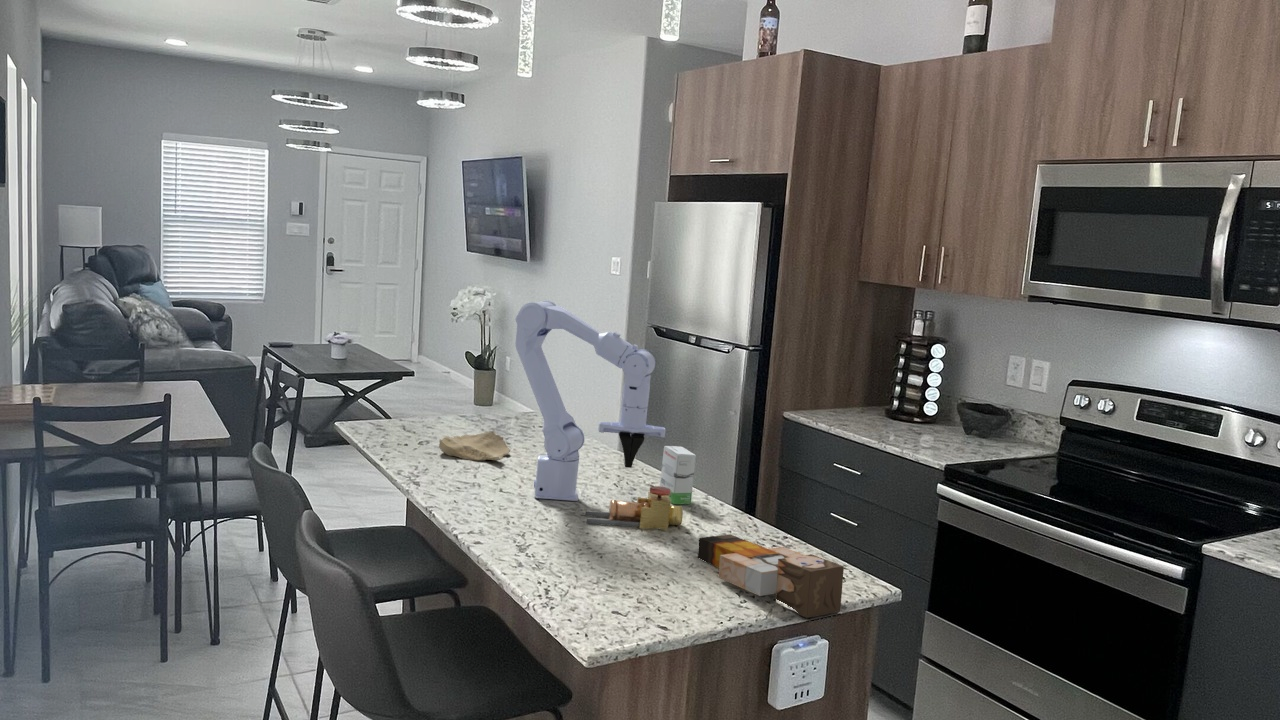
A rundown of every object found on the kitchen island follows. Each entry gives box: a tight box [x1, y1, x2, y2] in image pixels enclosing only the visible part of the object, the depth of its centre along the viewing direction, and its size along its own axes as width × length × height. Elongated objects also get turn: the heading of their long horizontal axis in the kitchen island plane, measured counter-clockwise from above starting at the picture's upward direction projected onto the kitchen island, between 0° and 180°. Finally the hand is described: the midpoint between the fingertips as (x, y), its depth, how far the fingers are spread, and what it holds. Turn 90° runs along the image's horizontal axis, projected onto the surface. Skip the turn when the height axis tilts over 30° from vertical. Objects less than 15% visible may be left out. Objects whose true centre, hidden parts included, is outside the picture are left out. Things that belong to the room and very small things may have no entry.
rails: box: [584, 510, 640, 528], centre depth 196 cm, size 11×6×1 cm, turn 97°
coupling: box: [608, 499, 649, 522], centre depth 196 cm, size 8×4×4 cm, turn 96°
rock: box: [438, 430, 511, 462], centre depth 239 cm, size 18×15×4 cm
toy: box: [697, 534, 845, 619], centre depth 168 cm, size 15×8×30 cm
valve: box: [636, 485, 684, 530], centre depth 196 cm, size 9×8×8 cm
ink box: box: [659, 445, 697, 505], centre depth 217 cm, size 9×5×12 cm, turn 22°
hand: (628, 466), depth 205 cm, fingers closed
